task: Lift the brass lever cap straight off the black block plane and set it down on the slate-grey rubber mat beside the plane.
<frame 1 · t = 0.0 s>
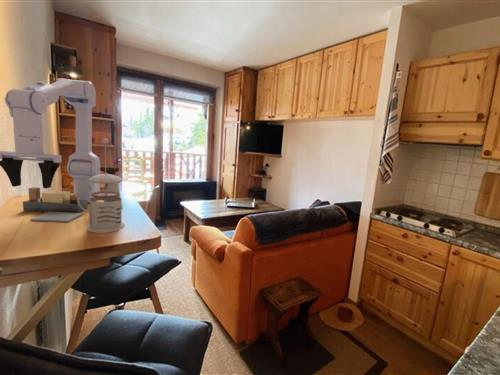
hand: (31, 186, 68), 10 cm above the table, tool pointing down, fingers open, 7 cm apart
french press: (102, 227, 71), on the table
plane body: (57, 209, 83), on the table
mat: (58, 217, 75), on the table
bolt: (110, 208, 90), on the table
salt shaker: (112, 215, 82), on the table
lever cap: (56, 201, 82), point 3 cm above the table, touching plane body
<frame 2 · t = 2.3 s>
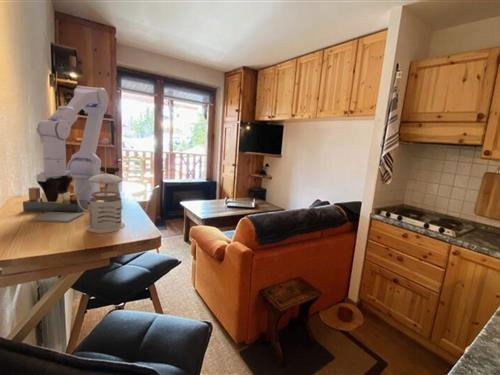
hand: (56, 199, 82), 3 cm above the table, tool pointing down, fingers closed on lever cap, 4 cm apart
lever cap: (56, 201, 82), point 3 cm above the table, touching gripper, plane body
everything else where it was.
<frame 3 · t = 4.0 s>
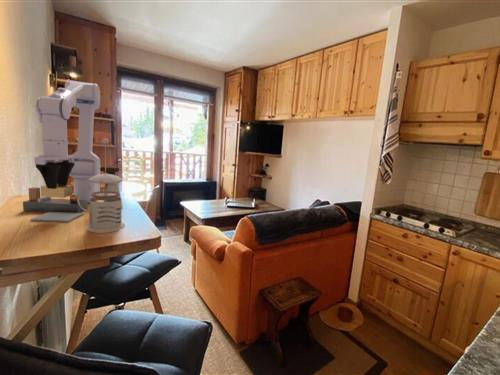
hand: (57, 186, 74), 9 cm above the table, tool pointing down, fingers closed on lever cap, 4 cm apart
lever cap: (57, 195, 74), point 7 cm above the table, touching gripper
everything else where it was.
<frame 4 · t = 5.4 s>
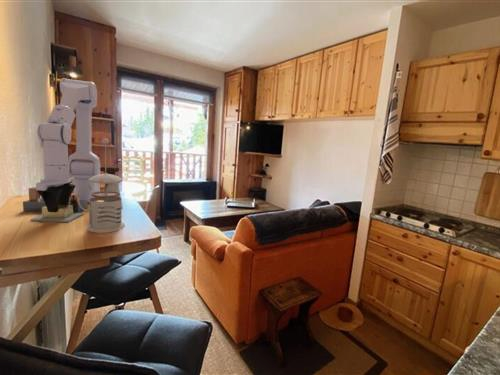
hand: (58, 209, 75), 2 cm above the table, tool pointing down, fingers closed on lever cap, 4 cm apart
lever cap: (58, 215, 75), resting on mat, touching gripper
everything else where it was.
when the fingers open (2 cm above the table, at t = 6.2 s): lever cap stays where it is, resting on mat.
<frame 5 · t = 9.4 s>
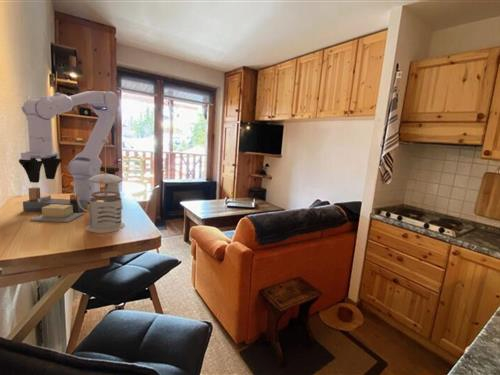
hand: (42, 180, 81), 9 cm above the table, tool pointing down, fingers open, 7 cm apart
lever cap: (58, 215, 75), resting on mat
everything else where it was.
at the end: lever cap inside the target area on the mat (0.1 cm from its centre), point 0.5 cm above the mat's base; lever cap touching mat; the gripper is holding nothing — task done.
